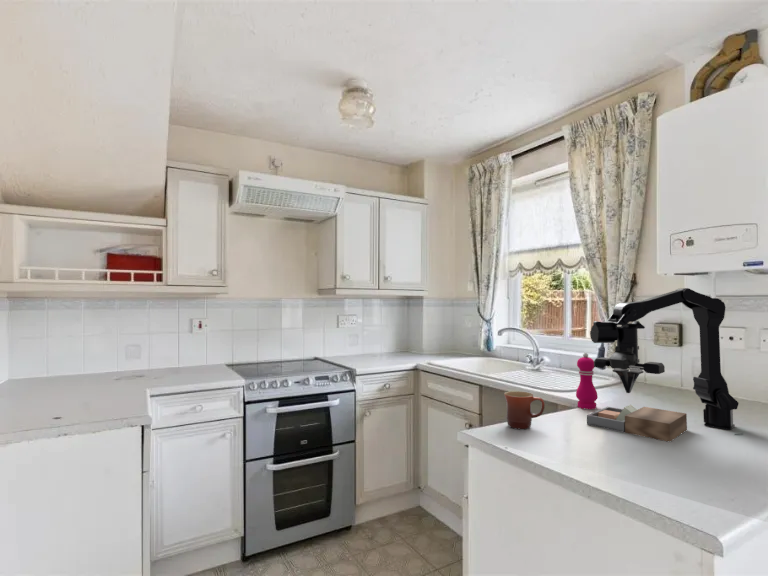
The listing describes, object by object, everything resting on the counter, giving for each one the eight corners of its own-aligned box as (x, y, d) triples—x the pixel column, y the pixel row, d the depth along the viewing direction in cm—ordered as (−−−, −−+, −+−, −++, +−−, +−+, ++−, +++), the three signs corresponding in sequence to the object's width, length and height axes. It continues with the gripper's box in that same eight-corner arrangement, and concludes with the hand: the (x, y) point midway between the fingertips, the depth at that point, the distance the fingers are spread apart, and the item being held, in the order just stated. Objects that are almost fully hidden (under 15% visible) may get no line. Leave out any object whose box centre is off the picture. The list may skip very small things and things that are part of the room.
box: (643, 422, 138) (643, 412, 138) (624, 432, 127) (623, 422, 127) (607, 415, 146) (607, 406, 146) (586, 424, 136) (586, 415, 136)
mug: (503, 429, 131) (503, 396, 132) (505, 422, 140) (505, 390, 140) (545, 433, 127) (544, 398, 128) (544, 425, 136) (544, 392, 136)
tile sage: (638, 410, 134) (630, 404, 136) (632, 412, 131) (624, 407, 133) (629, 421, 136) (621, 416, 138) (622, 424, 133) (615, 419, 135)
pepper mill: (600, 410, 153) (599, 354, 154) (578, 409, 155) (577, 354, 155) (594, 405, 160) (593, 351, 161) (574, 404, 162) (572, 351, 162)
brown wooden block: (687, 430, 129) (686, 413, 129) (669, 442, 118) (669, 423, 119) (644, 422, 138) (644, 406, 138) (625, 432, 127) (624, 415, 127)
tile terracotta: (605, 409, 142) (605, 417, 141) (598, 412, 138) (598, 420, 138) (621, 412, 138) (621, 420, 138) (614, 415, 135) (614, 423, 134)
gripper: (585, 342, 136) (586, 391, 136) (651, 347, 122) (653, 402, 121) (600, 340, 143) (601, 387, 143) (664, 344, 129) (665, 396, 129)
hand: (628, 392), depth 134 cm, fingers closed
